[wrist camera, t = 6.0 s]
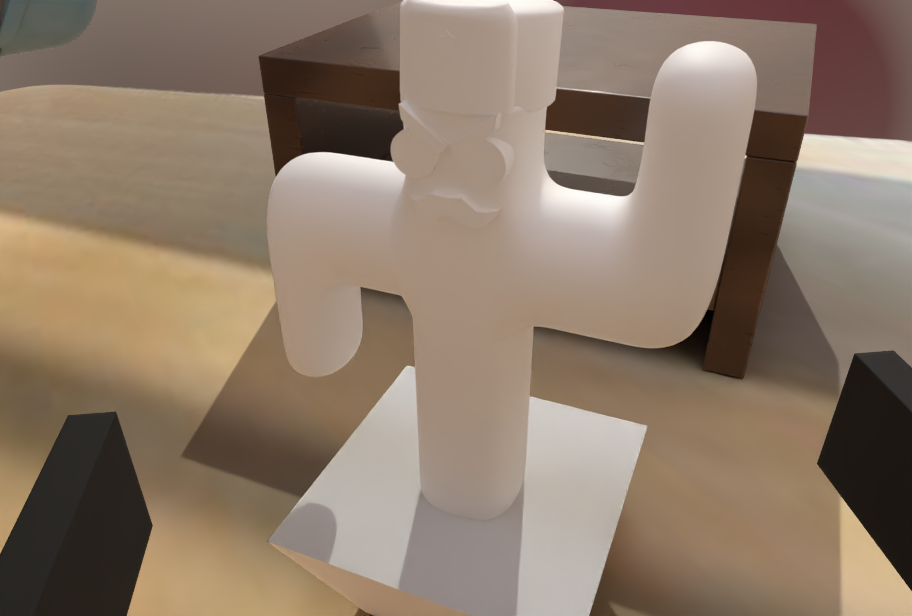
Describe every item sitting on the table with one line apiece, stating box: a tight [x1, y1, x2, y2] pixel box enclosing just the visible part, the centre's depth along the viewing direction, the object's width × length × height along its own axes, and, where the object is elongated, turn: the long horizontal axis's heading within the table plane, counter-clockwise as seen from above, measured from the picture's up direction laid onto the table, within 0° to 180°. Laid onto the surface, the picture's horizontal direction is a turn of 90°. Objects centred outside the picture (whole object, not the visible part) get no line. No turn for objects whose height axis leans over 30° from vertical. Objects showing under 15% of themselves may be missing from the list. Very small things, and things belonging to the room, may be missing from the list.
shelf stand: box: [259, 1, 817, 378], centre depth 34 cm, size 20×14×10 cm
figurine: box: [267, 0, 757, 616], centre depth 17 cm, size 7×9×15 cm
